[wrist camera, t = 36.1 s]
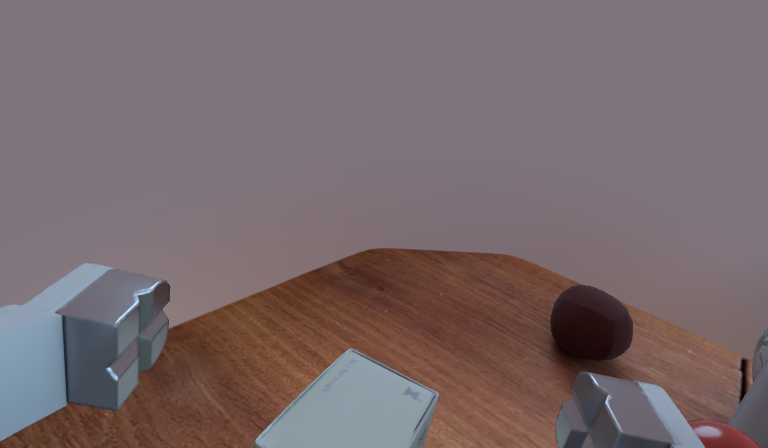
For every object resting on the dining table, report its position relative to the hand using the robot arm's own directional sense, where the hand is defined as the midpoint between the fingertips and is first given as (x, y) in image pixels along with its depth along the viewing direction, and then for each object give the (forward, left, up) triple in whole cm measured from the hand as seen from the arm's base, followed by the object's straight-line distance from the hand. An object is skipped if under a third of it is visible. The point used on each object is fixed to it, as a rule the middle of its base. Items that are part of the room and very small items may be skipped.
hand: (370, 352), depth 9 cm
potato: (+35, -13, -19) cm, 42 cm away
